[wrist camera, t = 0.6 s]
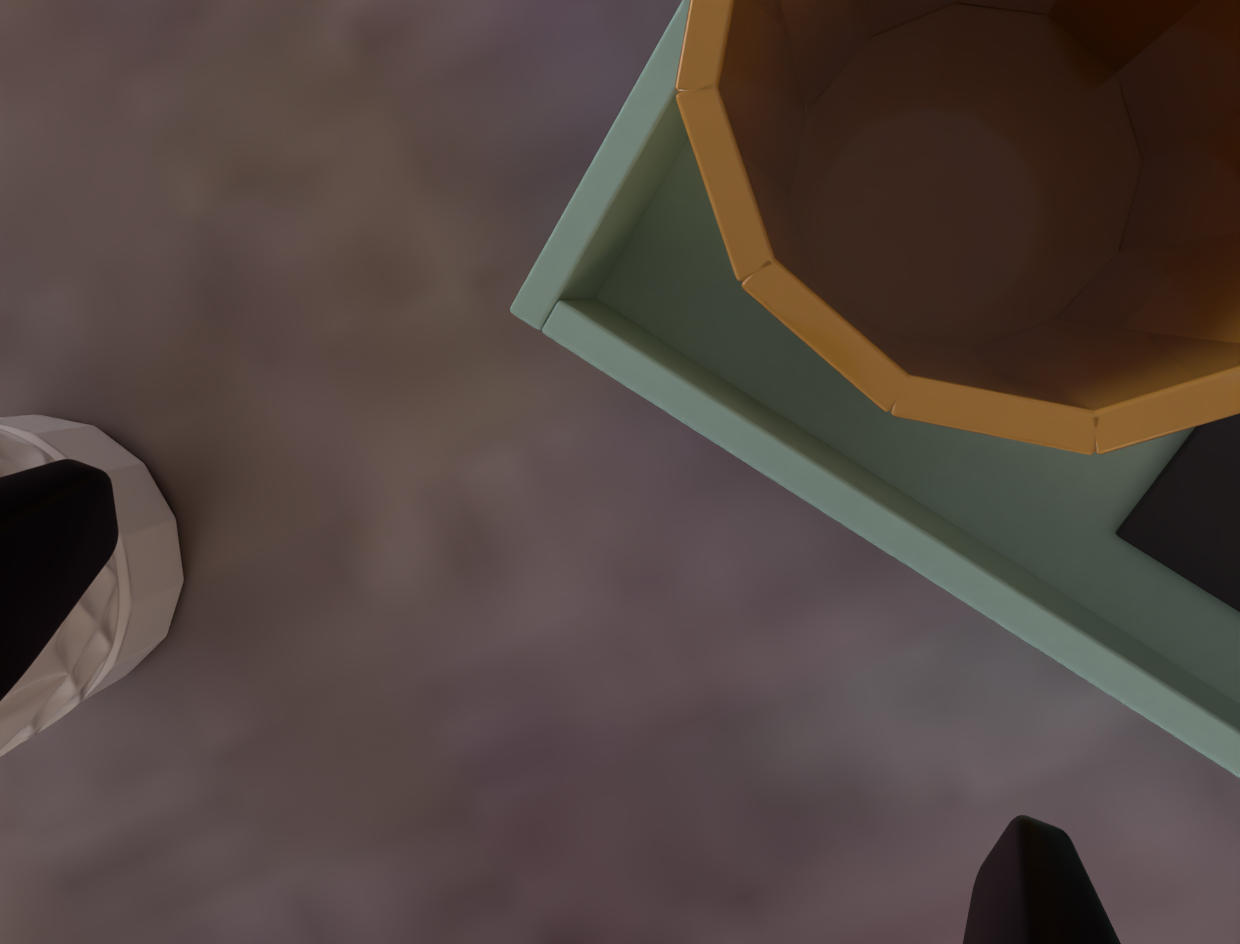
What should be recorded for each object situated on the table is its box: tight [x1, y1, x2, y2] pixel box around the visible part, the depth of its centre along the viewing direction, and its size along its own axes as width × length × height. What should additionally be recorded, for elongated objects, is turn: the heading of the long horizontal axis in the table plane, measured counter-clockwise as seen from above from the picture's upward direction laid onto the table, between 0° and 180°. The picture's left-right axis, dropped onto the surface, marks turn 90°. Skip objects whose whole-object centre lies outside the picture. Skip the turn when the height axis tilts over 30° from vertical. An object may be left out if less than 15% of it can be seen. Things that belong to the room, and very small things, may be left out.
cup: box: [675, 0, 1240, 455], centre depth 15 cm, size 7×7×12 cm
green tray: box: [510, 0, 1240, 778], centre depth 19 cm, size 21×12×4 cm, turn 59°
